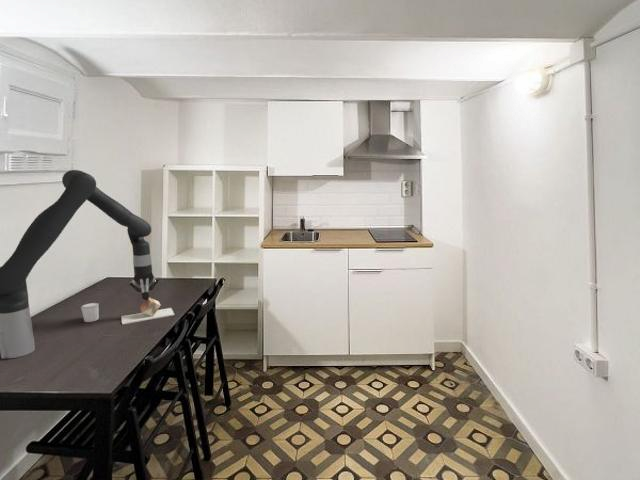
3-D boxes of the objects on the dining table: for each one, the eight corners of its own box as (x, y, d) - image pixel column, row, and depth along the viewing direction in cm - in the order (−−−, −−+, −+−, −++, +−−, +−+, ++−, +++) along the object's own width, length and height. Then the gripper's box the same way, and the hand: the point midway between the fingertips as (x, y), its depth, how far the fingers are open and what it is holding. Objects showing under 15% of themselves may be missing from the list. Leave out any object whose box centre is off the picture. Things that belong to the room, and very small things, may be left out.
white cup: (94, 322, 159) (92, 308, 158) (79, 322, 159) (77, 307, 158) (103, 316, 166) (101, 302, 165) (89, 316, 166) (87, 302, 165)
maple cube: (148, 300, 163) (160, 305, 166) (147, 296, 168) (159, 301, 171) (141, 311, 162) (153, 316, 165) (140, 307, 167) (151, 312, 170)
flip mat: (122, 324, 157) (122, 323, 157) (121, 317, 165) (121, 316, 165) (174, 315, 168) (174, 314, 168) (171, 308, 176) (171, 307, 176)
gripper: (126, 267, 156) (130, 304, 158) (159, 263, 162) (162, 299, 165) (125, 263, 162) (129, 299, 165) (157, 260, 169) (159, 294, 172)
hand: (145, 299), depth 165 cm, fingers closed
